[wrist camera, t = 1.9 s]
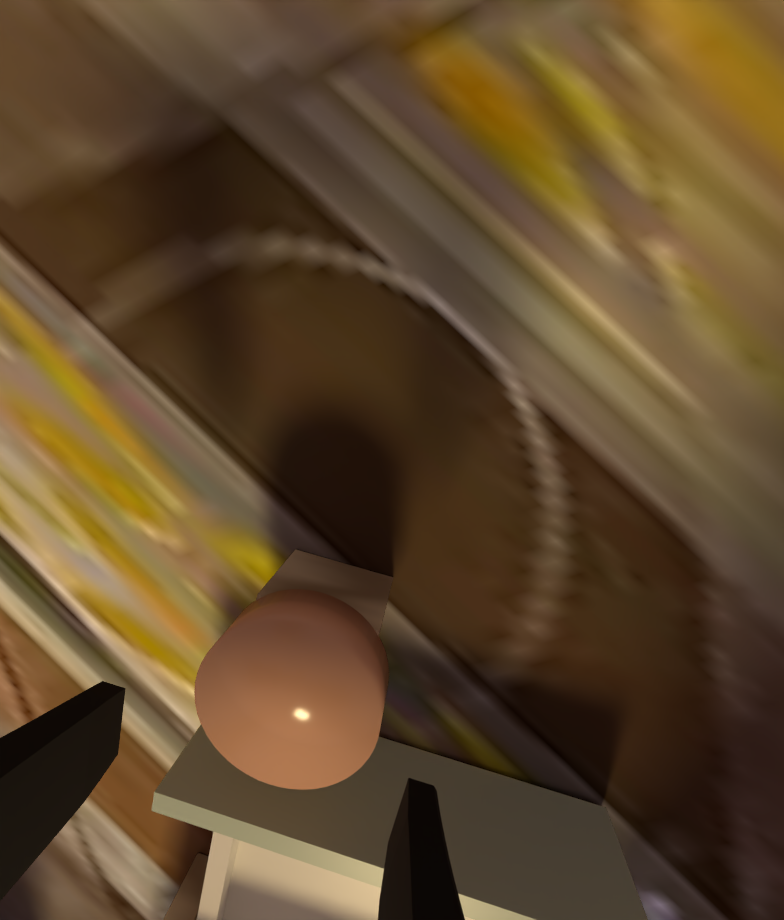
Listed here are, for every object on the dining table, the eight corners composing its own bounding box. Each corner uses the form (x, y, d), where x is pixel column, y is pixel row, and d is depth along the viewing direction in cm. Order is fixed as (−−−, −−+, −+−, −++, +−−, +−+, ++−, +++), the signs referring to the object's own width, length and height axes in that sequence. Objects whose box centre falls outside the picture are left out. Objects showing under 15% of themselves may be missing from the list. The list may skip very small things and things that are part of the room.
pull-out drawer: (606, 807, 17) (663, 962, 13) (526, 979, 19) (551, 1161, 15) (225, 688, 18) (154, 792, 14) (194, 864, 20) (124, 1002, 16)
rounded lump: (407, 617, 13) (401, 656, 11) (367, 757, 14) (356, 812, 12) (240, 568, 13) (208, 598, 11) (215, 709, 14) (183, 756, 13)
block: (393, 577, 16) (379, 631, 13) (370, 663, 17) (352, 734, 14) (295, 549, 17) (257, 594, 13) (277, 635, 18) (237, 699, 14)
